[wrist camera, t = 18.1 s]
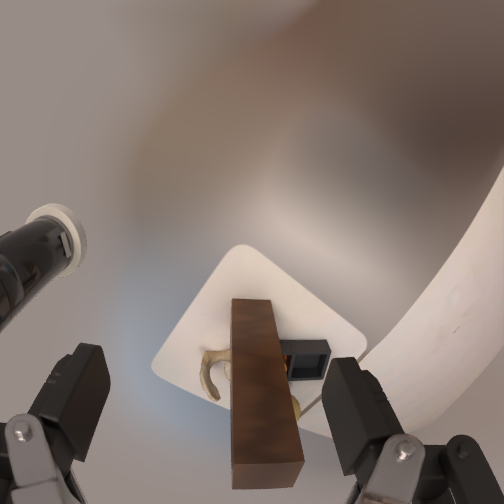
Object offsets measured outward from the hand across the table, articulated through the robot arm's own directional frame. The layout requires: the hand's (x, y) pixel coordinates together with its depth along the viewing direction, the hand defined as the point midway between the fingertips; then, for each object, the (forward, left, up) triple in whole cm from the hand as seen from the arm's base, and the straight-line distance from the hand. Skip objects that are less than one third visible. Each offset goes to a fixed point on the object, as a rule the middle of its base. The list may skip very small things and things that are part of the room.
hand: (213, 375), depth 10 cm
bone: (+1, -25, -30) cm, 39 cm away
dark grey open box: (+11, -25, -30) cm, 40 cm away
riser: (+4, -17, -30) cm, 35 cm away
